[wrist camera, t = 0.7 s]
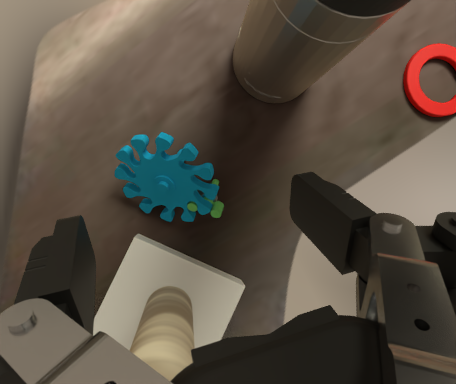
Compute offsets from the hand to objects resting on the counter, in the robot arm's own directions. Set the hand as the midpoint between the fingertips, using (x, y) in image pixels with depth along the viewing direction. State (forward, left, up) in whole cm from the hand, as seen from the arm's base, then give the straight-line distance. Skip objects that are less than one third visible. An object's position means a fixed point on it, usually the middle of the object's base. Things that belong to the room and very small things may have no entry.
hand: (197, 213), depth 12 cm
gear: (-1, -2, -22) cm, 22 cm away
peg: (+10, +3, -19) cm, 22 cm away
